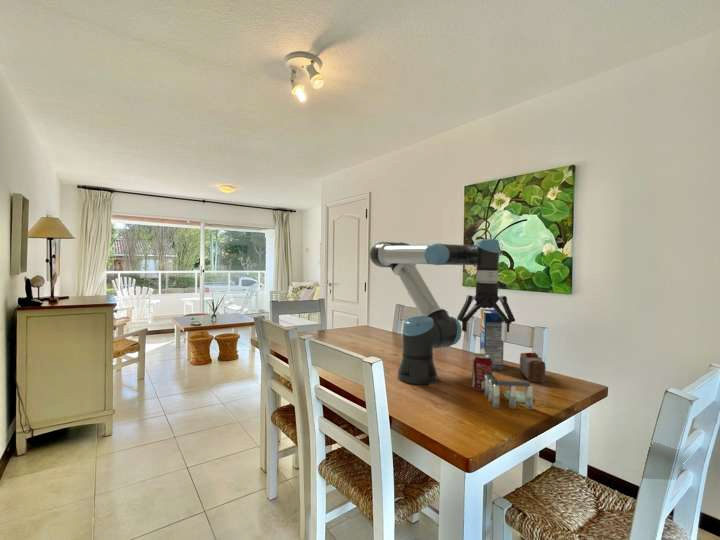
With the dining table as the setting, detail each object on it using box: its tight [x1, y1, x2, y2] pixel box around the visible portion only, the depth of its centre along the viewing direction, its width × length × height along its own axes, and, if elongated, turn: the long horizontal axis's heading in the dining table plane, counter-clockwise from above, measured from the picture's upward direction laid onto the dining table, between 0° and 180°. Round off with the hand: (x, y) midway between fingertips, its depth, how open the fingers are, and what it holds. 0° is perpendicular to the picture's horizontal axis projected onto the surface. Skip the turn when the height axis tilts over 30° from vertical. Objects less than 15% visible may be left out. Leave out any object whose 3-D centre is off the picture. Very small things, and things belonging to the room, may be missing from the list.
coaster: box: [503, 390, 534, 404], centre depth 120 cm, size 9×9×1 cm
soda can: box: [471, 353, 493, 392], centre depth 128 cm, size 7×7×12 cm
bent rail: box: [483, 372, 534, 410], centre depth 116 cm, size 12×11×8 cm
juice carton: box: [479, 308, 505, 371], centre depth 156 cm, size 12×8×24 cm, turn 171°
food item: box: [519, 352, 546, 384], centre depth 142 cm, size 14×8×10 cm, turn 170°
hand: (485, 340), depth 129 cm, fingers open, 13 cm apart
